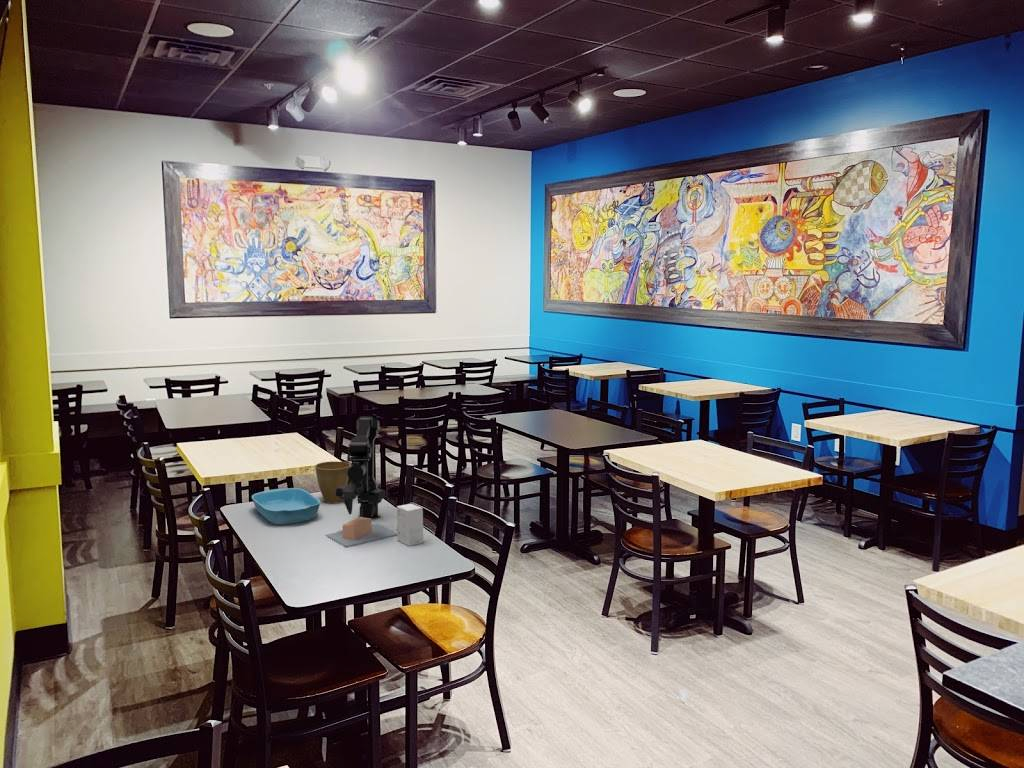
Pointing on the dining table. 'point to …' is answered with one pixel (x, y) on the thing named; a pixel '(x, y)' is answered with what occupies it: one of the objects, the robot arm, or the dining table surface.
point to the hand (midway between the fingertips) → (360, 515)
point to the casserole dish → (286, 505)
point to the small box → (410, 524)
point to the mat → (376, 534)
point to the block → (357, 528)
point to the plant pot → (332, 478)
